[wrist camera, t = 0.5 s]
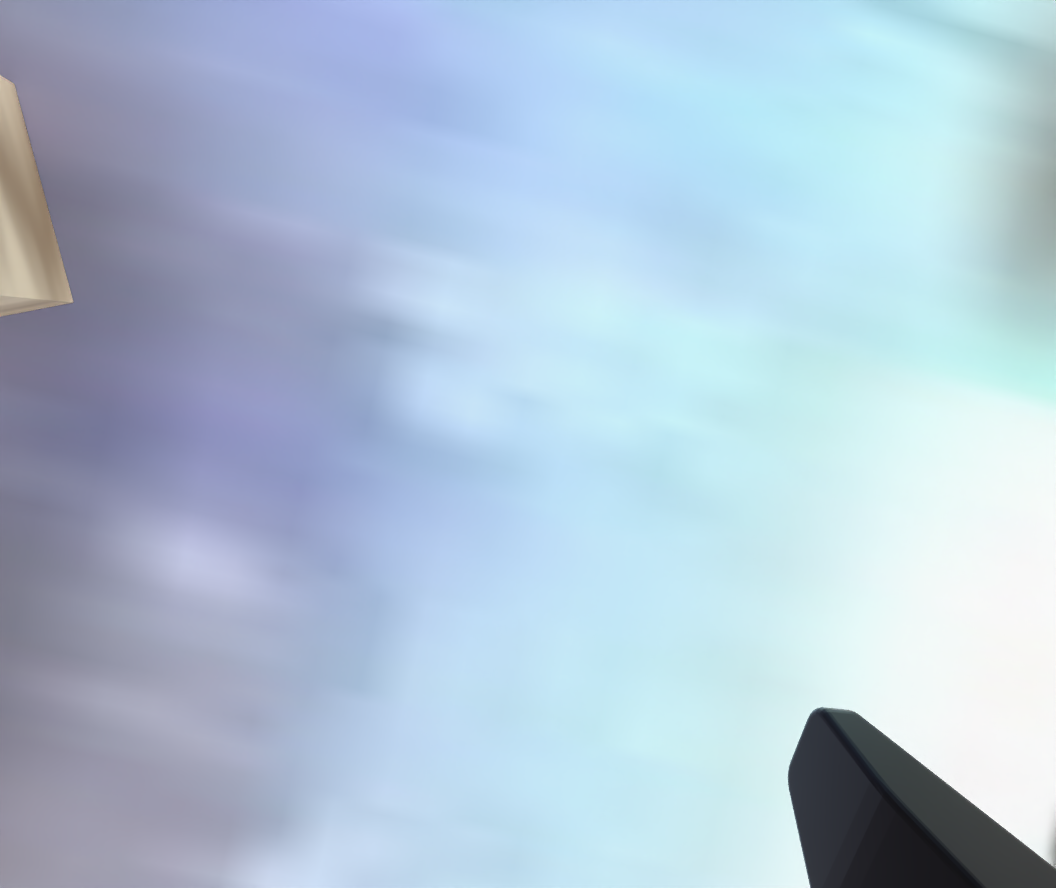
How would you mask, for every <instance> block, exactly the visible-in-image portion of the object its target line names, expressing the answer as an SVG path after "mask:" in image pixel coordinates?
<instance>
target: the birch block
mask: <svg viewBox="0 0 1056 888" xmlns="http://www.w3.org/2000/svg"><path fill="white" fill-rule="evenodd" d="M69 303H74V302H73V299H72V295H71V291H70V288H69V284H68V280H67V277H66V273H65V269H64V266H63V262H62V258H61V255H60V251H59V247H58V243H57V240H56V236H55V232H54V229H53V225H52V221H51V218H50V214H49V210H48V207H47V203H46V199H45V196H44V192H43V188H42V185H41V181H40V177H39V174H38V170H37V166H36V163H35V159H34V155H33V151H32V148H31V144H30V140H29V137H28V133H27V129H26V126H25V122H24V118H23V115H22V111H21V107H20V104H19V100H18V96H17V93H16V89H15V85H14V84H13V83H12V82H10V81H9V80H7V79H5V78H4V77H2V76H1V75H0V317H1V316H6V315H11V314H16V313H22V312H27V311H32V310H37V309H42V308H48V307H53V306H58V305H63V304H69Z"/></svg>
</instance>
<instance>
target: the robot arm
mask: <svg viewBox="0 0 1056 888" xmlns="http://www.w3.org/2000/svg"><path fill="white" fill-rule="evenodd" d="M788 785H789V791H790V796H791V801H792V805H793V810H794V814H795V819H796V823H797V828H798V833H799V837H800V842H801V846H802V851H803V856H804V860H805V865H806V869H807V874H808V879H809V883H810V888H1056V869H1055V868H1054V867H1053V866H1052V865H1050V864H1049V863H1048V862H1046V861H1045V860H1044V859H1043V858H1041V857H1040V856H1039V855H1037V854H1036V853H1035V852H1034V851H1032V850H1031V849H1030V848H1029V847H1027V846H1026V845H1025V844H1023V843H1022V842H1021V841H1020V840H1018V839H1017V838H1016V837H1014V836H1013V835H1012V834H1011V833H1009V832H1008V831H1007V830H1006V829H1004V828H1003V827H1002V826H1000V825H999V824H998V823H997V822H995V821H994V820H993V819H991V818H990V817H989V816H988V815H986V814H985V813H984V812H983V811H981V810H980V809H979V808H977V807H976V806H975V805H974V804H972V803H971V802H970V801H968V800H967V799H966V798H965V797H963V796H962V795H961V794H960V793H958V792H957V791H956V790H954V789H953V788H952V787H951V786H949V785H948V784H947V783H946V782H944V781H943V780H942V779H940V778H939V777H938V776H937V775H935V774H934V773H933V772H931V771H930V770H929V769H928V768H926V767H925V766H924V765H923V764H921V763H920V762H919V761H917V760H916V759H915V758H914V757H912V756H911V755H910V754H908V753H907V752H906V751H905V750H903V749H902V748H901V747H900V746H898V745H897V744H896V743H894V742H893V741H892V740H891V739H889V738H888V737H887V736H885V735H884V734H883V733H882V732H880V731H879V730H878V729H877V728H875V727H874V726H873V725H871V724H870V723H869V722H868V721H866V720H865V719H864V718H863V717H861V716H860V715H859V714H857V713H856V712H853V711H850V710H844V709H834V708H824V707H821V708H817V709H815V710H814V711H813V712H812V713H811V714H810V716H809V718H808V720H807V722H806V725H805V727H804V730H803V732H802V735H801V737H800V740H799V742H798V745H797V747H796V750H795V752H794V755H793V757H792V760H791V763H790V766H789V772H788Z"/></svg>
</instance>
